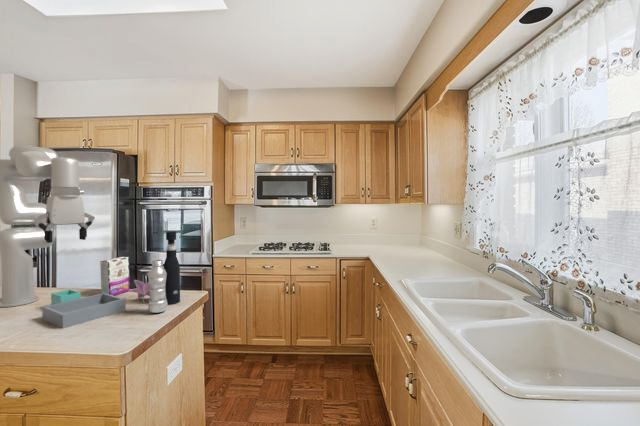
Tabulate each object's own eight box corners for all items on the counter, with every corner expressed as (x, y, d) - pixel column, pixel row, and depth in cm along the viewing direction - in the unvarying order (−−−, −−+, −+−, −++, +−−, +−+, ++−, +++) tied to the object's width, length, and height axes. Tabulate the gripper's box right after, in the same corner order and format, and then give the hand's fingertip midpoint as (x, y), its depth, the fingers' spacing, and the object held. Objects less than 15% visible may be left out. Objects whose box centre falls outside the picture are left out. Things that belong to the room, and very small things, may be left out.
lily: (166, 301, 132) (166, 280, 136) (146, 298, 122) (147, 275, 126) (143, 308, 134) (143, 287, 138) (121, 306, 123) (122, 283, 127)
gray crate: (42, 319, 108) (42, 307, 108) (104, 303, 126) (104, 293, 126) (63, 328, 101) (62, 315, 101) (125, 310, 118) (125, 298, 118)
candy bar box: (121, 290, 146) (120, 256, 146) (130, 290, 145) (129, 256, 145) (100, 297, 135) (99, 260, 135) (109, 297, 134) (109, 261, 134)
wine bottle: (168, 299, 131) (167, 231, 130) (183, 300, 131) (182, 231, 130) (160, 304, 125) (159, 232, 124) (175, 304, 125) (174, 232, 124)
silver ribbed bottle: (171, 310, 118) (171, 259, 118) (157, 316, 112) (156, 262, 112) (158, 308, 121) (158, 258, 120) (144, 314, 114) (143, 261, 114)
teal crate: (51, 308, 120) (51, 293, 120) (70, 303, 126) (70, 289, 126) (61, 311, 116) (60, 296, 116) (80, 306, 122) (80, 292, 122)
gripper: (88, 193, 116) (89, 238, 117) (28, 192, 101) (30, 242, 101) (98, 193, 112) (99, 239, 113) (38, 191, 97) (39, 244, 98)
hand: (66, 240), depth 107 cm, fingers open, 9 cm apart
